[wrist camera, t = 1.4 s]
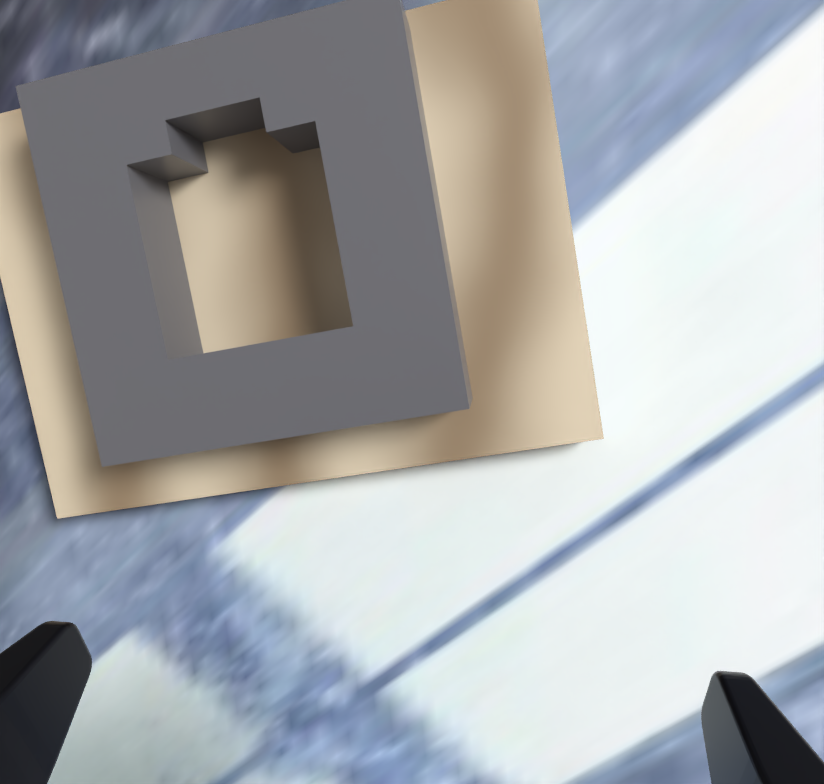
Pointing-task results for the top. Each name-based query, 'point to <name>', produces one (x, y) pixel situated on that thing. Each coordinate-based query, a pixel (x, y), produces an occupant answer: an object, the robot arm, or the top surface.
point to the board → (325, 285)
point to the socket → (162, 253)
